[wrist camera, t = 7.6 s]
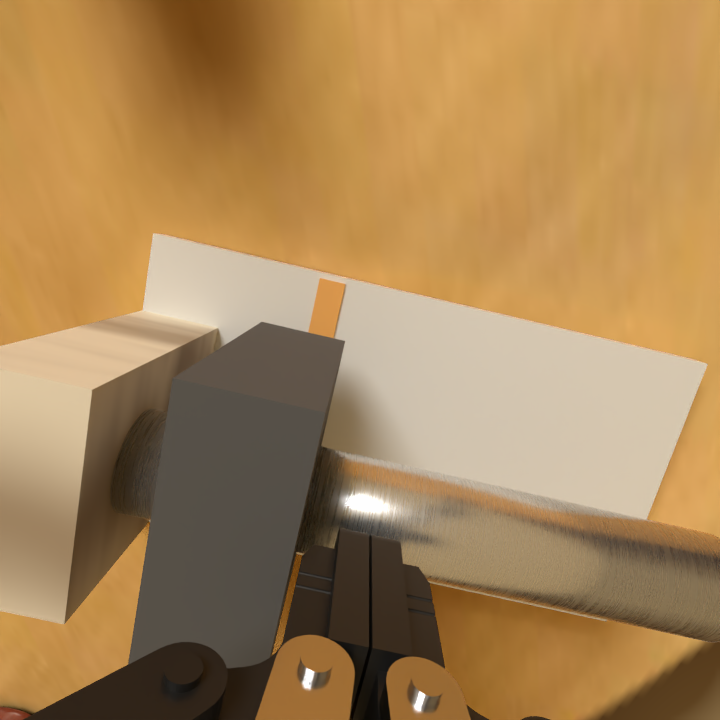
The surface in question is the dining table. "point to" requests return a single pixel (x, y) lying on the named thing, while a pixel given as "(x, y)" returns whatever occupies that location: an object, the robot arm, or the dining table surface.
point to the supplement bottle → (12, 714)
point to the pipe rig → (369, 442)
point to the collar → (234, 492)
